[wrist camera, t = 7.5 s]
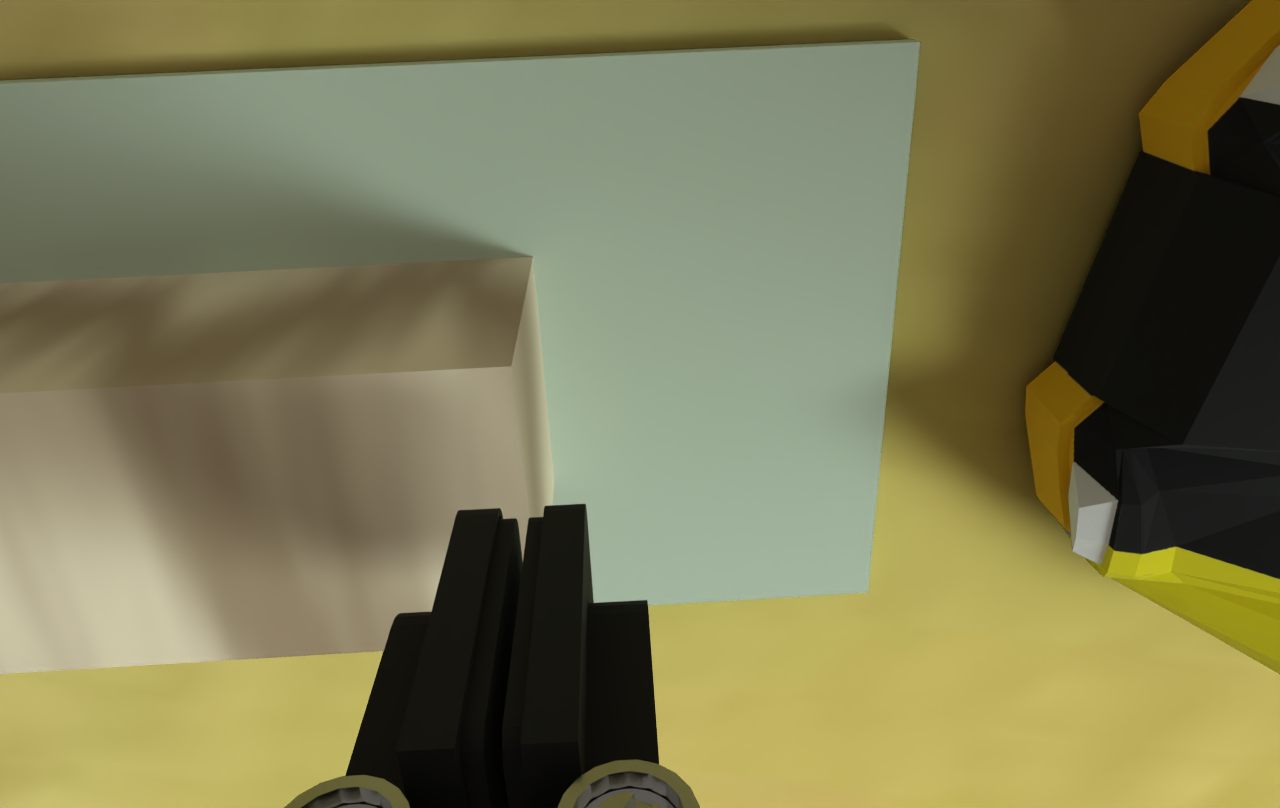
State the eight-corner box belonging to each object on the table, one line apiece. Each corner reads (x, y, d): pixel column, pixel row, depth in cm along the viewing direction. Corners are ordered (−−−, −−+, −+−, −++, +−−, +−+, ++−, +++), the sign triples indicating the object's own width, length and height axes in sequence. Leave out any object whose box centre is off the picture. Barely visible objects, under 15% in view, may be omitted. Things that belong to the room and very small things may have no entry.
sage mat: (911, 39, 16) (920, 42, 16) (862, 578, 22) (867, 592, 21) (-232, 91, 16) (-256, 95, 15) (11, 628, 21) (-1, 643, 21)
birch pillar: (510, 366, 13) (-365, 412, 12) (541, 641, 15) (-198, 686, 15) (533, 256, 17) (-112, 289, 17) (554, 481, 19) (-14, 513, 19)
